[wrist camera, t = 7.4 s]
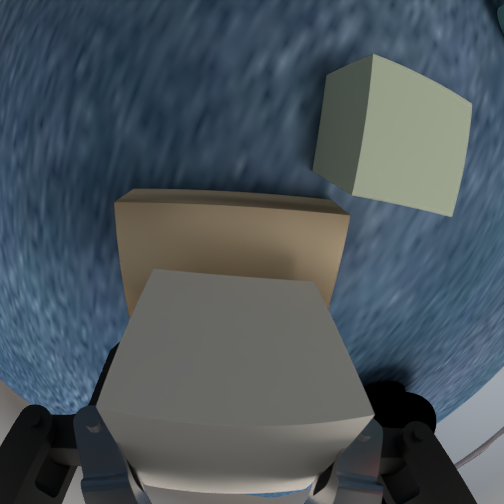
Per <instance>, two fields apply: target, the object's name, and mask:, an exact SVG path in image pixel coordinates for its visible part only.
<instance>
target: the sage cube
mask: <svg viewBox="0 0 504 504" xmlns="http://www.w3.org/2000/svg"><path fill="white" fill-rule="evenodd" d="M471 112H472V104H471V103H470V102H468V101H467V100H465V99H464V98H462V97H460V96H459V95H457V94H456V93H454V92H452V91H450V90H449V89H447V88H445V87H444V86H442V85H440V84H438V83H436V82H434V81H433V80H431V79H429V78H427V77H425V76H423V75H421V74H419V73H417V72H415V71H413V70H410V69H408V68H406V67H404V66H402V65H399V64H397V63H395V62H392V61H390V60H388V59H385V58H383V57H380V56H377V55H375V54H372V55H369V56H367V57H364V58H362V59H360V60H358V61H355V62H353V63H351V64H349V65H347V66H345V67H342V68H340V69H338V70H336V71H334V72H332V73H330V74H328V75H326V82H325V90H324V97H323V105H322V112H321V119H320V125H319V132H318V139H317V145H316V151H315V157H314V163H313V169H312V171H313V172H314V173H316V174H318V175H320V176H321V177H323V178H325V179H326V180H328V181H330V182H331V183H333V184H335V185H336V186H338V187H340V188H341V189H343V190H344V191H346V192H348V193H349V194H351V195H353V196H359V197H364V198H370V199H375V200H380V201H385V202H390V203H394V204H399V205H404V206H408V207H413V208H417V209H421V210H425V211H430V212H434V213H438V214H442V215H446V216H449V217H452V215H453V211H454V207H455V204H456V200H457V196H458V192H459V187H460V183H461V178H462V174H463V169H464V163H465V158H466V152H467V146H468V139H469V131H470V123H471Z"/></svg>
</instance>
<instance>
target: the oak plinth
mask: <svg viewBox="0 0 504 504" xmlns="http://www.w3.org/2000/svg"><path fill="white" fill-rule="evenodd" d="M114 209H115V222H116V233H117V242H118V251H119V259H120V266H121V273H122V280H123V286H124V292H125V298H126V303H127V308H128V313H129V318H131V316H132V314H133V312H134V309H135V307H136V305H137V303H138V301H139V298H140V296H141V294H142V292H143V290H144V288H145V286H146V283H147V281H148V279H149V277H150V275H151V273H152V271H153V269H162V270H172V271H183V272H194V273H205V274H217V275H229V276H242V277H255V278H268V279H283V280H298V281H314V282H315V284H316V286H317V288H318V290H319V292H320V294H321V296H322V298H323V300H324V302H325V304H326V307H327V309H328V307H329V304H330V300H331V297H332V293H333V289H334V285H335V281H336V278H337V274H338V269H339V265H340V261H341V257H342V253H343V248H344V244H345V239H346V235H347V230H348V225H349V220H350V215H349V214H348V213H347V212H346V211H344V210H343V209H342V208H341V207H339V206H338V205H337V204H336V203H335V202H333V201H332V200H328V199H319V198H309V197H299V196H288V195H276V194H263V193H248V192H232V191H212V190H186V189H132V190H131V191H130V192H128V193H127V194H125V195H124V196H122V197H121V198H119V199H118V200H117V201H115V202H114Z"/></svg>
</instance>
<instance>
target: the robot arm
mask: <svg viewBox="0 0 504 504" xmlns="http://www.w3.org/2000/svg"><path fill="white" fill-rule="evenodd" d="M119 344H120V342H119V343H118V344H117V345H116V346H115V347H114V348H113V349H111V350H110V352H109V355H108V357H107V360H106V363H105V364H104V367H103V371H102V372H101V374H100V377H99V379H98V382H97V384H96V387H95V390H94V392H93V395H92V398H91V400H90V403H89V404H88V406H85V407H83V408H81V409H80V410H79V411H78V412H77V413H76V414H72V415H51V414H50V412H49V411H48V410H47V409H46V408H45V407H43V406H41V405H36V404H34V405H29V406H27V407H26V408H24V409H23V410H22V412H21V413H20V415H19V416H18V418H17V419H16V421H15V423H14V424H13V426H12V427H11V429H10V431H9V433H8V434H7V436H6V438H5V440H4V441H3V443H2V445H1V446H0V504H62V502H63V499H64V497H65V494H66V492H67V490H68V487H69V485H70V483H71V480H72V478H73V476H74V473H75V471H76V469H77V467H78V466H81V467H82V471H83V479H82V480H81V489H82V493H83V497H84V500H85V503H86V504H152V503H151V501H150V499H149V497H148V495H147V493H146V491H145V489H144V486H143V484H142V481H141V479H140V476H139V474H138V471H137V470H136V468H135V467H132V466H131V465H130V463H129V462H128V460H127V459H126V457H125V454H124V450H123V448H122V447H121V445H120V443H119V442H116V441H115V440H114V438H113V437H112V435H111V433H110V431H109V430H108V428H107V426H106V424H105V423H104V421H103V419H102V417H101V415H100V414H99V412H98V410H97V408H96V405H97V402H98V399H99V396H100V393H101V391H102V388H103V385H104V382H105V380H106V377H107V374H108V372H109V369H110V367H111V364H112V361H113V359H114V356H115V354H116V351H117V349H118V346H119ZM408 467H409V468H408ZM409 469H410V470H409ZM412 474H413V475H412ZM413 476H414V477H413ZM417 483H418V484H417ZM418 485H419V486H418ZM382 496H383V497H384V499H385V501H386V503H387V504H477V503H476V501H475V499H474V497H473V496H472V494H471V492H470V490H469V489H468V487H467V485H466V484H465V482H464V480H463V479H462V477H461V475H460V474H459V472H458V471H457V469H456V467H455V466H454V464H453V463H452V461H451V459H450V458H449V456H448V455H447V453H446V452H445V450H444V449H443V447H442V445H441V444H440V442H439V441H438V439H437V438H436V436H435V435H434V433H433V432H432V430H431V429H430V427H429V426H428V425H426V424H425V423H423V422H420V421H412V422H410V423H408V424H407V425H406V426H405V427H404V428H403V429H400V428H387V427H381V425H380V424H379V423H378V422H377V421H376V420H374V419H373V418H372V419H371V420H370V422H369V423H368V424H367V425H366V426H365V428H364V429H363V430H362V431H361V432H360V434H359V435H358V436H357V437H356V438H355V439H354V440H353V442H352V443H351V444H350V445H349V446H348V447H347V448H343V449H341V450H340V452H339V453H338V454H337V455H336V458H335V461H334V462H333V463H332V464H331V465H330V466H329V467H328V468H327V469H326V470H325V471H323V472H319V473H318V474H317V475H316V477H315V480H314V483H313V485H312V488H311V491H310V494H309V496H308V498H307V500H306V502H305V503H304V504H381V501H382Z"/></svg>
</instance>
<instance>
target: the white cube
mask: <svg viewBox="0 0 504 504" xmlns="http://www.w3.org/2000/svg"><path fill="white" fill-rule="evenodd" d="M96 408H97V410H98V412H99V414H100V415H101V417H102V419H103V421H104V423H105V424H106V426H107V428H108V430H109V431H110V433H111V435H112V437H113V438H114V440H115V441H116V442H119V443H120V445H121V447H122V448H123V450H124V454H125V457H126V459H127V460H128V462H129V463H130V465H131V466H132V467H135V468H136V470H137V471H138V474H139V476H140V479H141V480H142V481H143V483H144V484H145V485H149V486H155V487H161V488H167V489H175V490H183V491H193V492H205V493H228V494H229V493H231V494H249V493H272V492H284V491H294V490H302V489H305V488H307V487H308V486H309V485H310V484H311V483H312V482H313V481H314V480H315V477H316V475H317V474H318V473H319V472H323V471H325V470H326V469H327V468H328V467H329V466H330V465H331V464H332V463H333V462H334V461H335V458H336V455H337V454H338V453H339V452H340V450H341V449H343V448H347V447H348V446H349V445H350V444H351V443H352V442H353V440H354V439H355V438H356V437H357V436H358V435H359V434H360V432H361V431H362V430H363V429H364V428H365V426H366V425H367V424H368V423H369V422H370V420H371V419H372V418H373V417H374V415H375V414H374V411H373V409H372V406H371V404H370V402H369V399H368V397H367V395H366V392H365V390H364V388H363V385H362V383H361V381H360V378H359V376H358V374H357V372H356V369H355V367H354V365H353V363H352V360H351V358H350V356H349V354H348V351H347V349H346V347H345V345H344V343H343V341H342V338H341V336H340V334H339V332H338V330H337V328H336V325H335V323H334V321H333V319H332V317H331V315H330V313H329V311H328V309H327V307H326V304H325V302H324V300H323V298H322V296H321V294H320V292H319V290H318V288H317V286H316V284H315V282H314V281H298V280H283V279H268V278H255V277H242V276H229V275H217V274H205V273H194V272H183V271H172V270H162V269H153V271H152V273H151V275H150V277H149V279H148V281H147V283H146V286H145V288H144V290H143V292H142V294H141V296H140V298H139V301H138V303H137V305H136V307H135V309H134V312H133V314H132V316H131V318H130V321H129V323H128V325H127V327H126V330H125V332H124V334H123V337H122V339H121V342H120V344H119V346H118V349H117V351H116V354H115V356H114V359H113V361H112V364H111V367H110V369H109V372H108V374H107V377H106V380H105V382H104V385H103V388H102V391H101V393H100V396H99V399H98V402H97V405H96Z"/></svg>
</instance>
